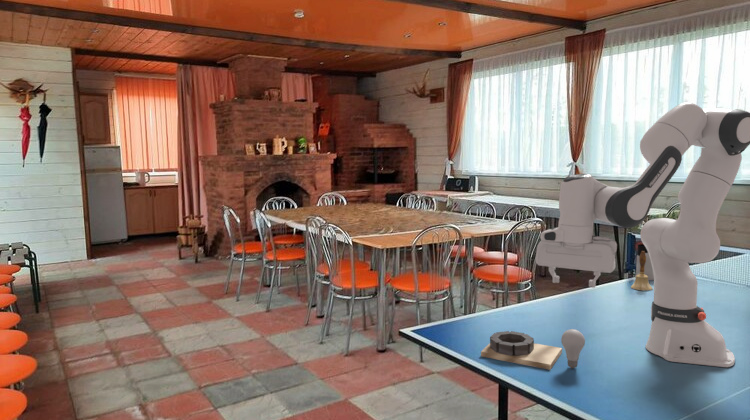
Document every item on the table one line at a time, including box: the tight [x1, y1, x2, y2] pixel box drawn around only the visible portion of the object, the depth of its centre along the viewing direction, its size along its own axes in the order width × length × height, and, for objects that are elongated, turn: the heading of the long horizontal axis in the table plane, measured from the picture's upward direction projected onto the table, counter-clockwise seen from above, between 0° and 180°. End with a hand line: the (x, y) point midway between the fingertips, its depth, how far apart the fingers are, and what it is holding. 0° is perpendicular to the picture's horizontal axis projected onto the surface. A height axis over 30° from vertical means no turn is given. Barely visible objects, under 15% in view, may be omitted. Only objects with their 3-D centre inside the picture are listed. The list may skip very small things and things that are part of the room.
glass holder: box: [634, 243, 654, 281], centre depth 249 cm, size 9×14×15 cm, turn 171°
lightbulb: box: [560, 328, 586, 369], centre depth 149 cm, size 6×6×11 cm
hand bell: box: [630, 251, 654, 292], centre depth 229 cm, size 8×8×16 cm
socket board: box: [480, 330, 563, 371], centre depth 159 cm, size 20×14×4 cm
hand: (573, 284), depth 147 cm, fingers open, 8 cm apart
